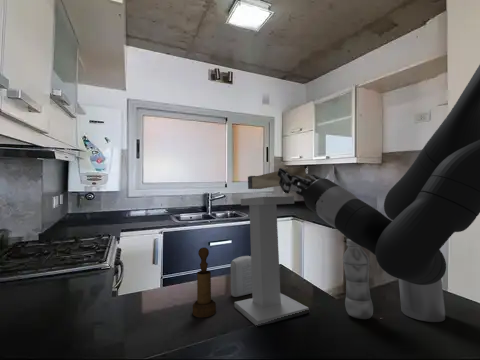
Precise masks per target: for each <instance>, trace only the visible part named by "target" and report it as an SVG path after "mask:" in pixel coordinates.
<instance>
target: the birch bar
mask: <svg viewBox="0 0 480 360" xmlns="http://www.w3.org/2000/svg"><path fill="white" fill-rule="evenodd" d="M283 169H284V168H283ZM284 170H286V171H287V172H289V173H290V174H292V175H299V176H301V177H303V178H305V179H306V177H305V176H306V173H307V172H306V168H305V167H293V166H292V167H288V168H285V169H284ZM277 174H278V170H276V171H273V172H267V173H264V174H260V175H249V176H247V189H248V190H262V189H269V188H275V187H281V186H280V184H279V181H280V177H279V176H278V175H277ZM290 181H292V178H290ZM297 181H298V180H297Z"/></svg>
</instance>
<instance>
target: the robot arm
mask: <svg viewBox="0 0 480 360" xmlns="http://www.w3.org/2000/svg"><path fill="white" fill-rule="evenodd" d="M277 171H278V174H277V175H278V176H279V177H280V181H279V184H280V186H279V187H280V188H281V190H282V192H283V193H285V194H290V192H295V193H296V194H297V195H299V196H301V197H302V198H303V201H304V203H305V205H306V208H308V209H309V210H310V211H312V212H313V213H314V214H315V215H317V216H318V217H319V218H320V219H322V220H323V221H324V222H325V223H327V224H328V225H329V226H331V227H333V228H335V230H337V231H338V232H339V233H341V234H343V236H345V237H346V239H347V238H349V239H350V240H351V241H353V242H354V243H356V244H358V245H360V246H362V247H361V248H364V249H366V250H368V251H369V252H370V253H372V254H373V255H374V256H375V259H376V262H377V264H378V265H379V267H380V268H381V269H382V270H383V271H384V273H385V272H386V274H388V275H390V276H391V277H393V278H395V279H398V286H399V298H400V299H399V300H400V307H401V309H400V310H401V313H402V314H404V315H405V316H407V317H409V318H411V319H415V320H417V321H422V322H427V323H428V322H429V323H440V322H443V321H445V319H446V307H445V301H444V300H445V298H444V291H443V290H444V289H443V282H442V279H443V277H444V276H445V274H446V271H447V263H446V258H445V256H444V254H443V253H442V250H441V248H442V247H443V246H444V245H445V244H446V242H447V241H448V240H449V239H450V238H451V236H452V235H454V233H460V232H464V231H465V230H467V229H468V228H469V227H470V226H471V225H472V224H473V223H474V222H475V220H476V219H477V217H478V216H479V215H480V64H479V65H478V67H477V68H476V70H475V71H474V73H473V75H472V76H471V78H470V79H469V81H468V83H467V84H466V86H465V88H464V90H463V91H462V93H461V94H460V96H459V98H458V99H457V101H456V102H455V104H454V105H453V107H452V108H451V110H450V112H449V113H448V115H447V116H446V117H445V119H444V120H443V121H442V122H441V124H440V125H439V127H437V129H436V130H435V132H434V133H433V134H432V135H431V137H430V138H429V140H428V141H427V142H426V143H425V145H424V147H423V148H422V149H421V150H420V152H419V154H418V156H417V157H416V158H415V159H414V161H413V163H412V164H411V166H410V167H409V168H408V169H407V171H406V172H405V173H404V175H403V176H402V177H401V178H400V179H399V180H398V181H397V182H396V183H395V184H394V185H393V186H392V187H391V188H390V189H389V190H388V192H387V194H386V196H385V199H384V203H383V210H384V213H385V215H386V216H385V215H384V214H382V212H380V211H379V210H378V209H376V208H375V207H373V206H371V205H370V204H368V203H367V202H365V201H363V200H361V199H360V198H358V197H357V196H356V195H355V194H353V193H352V192H350V191H349V190H347V189H345V188H343V187H342V186H340V185H339V184H337V183H335V182H334V181H332V180H330V179H328V178H323V177H320V176H317V175H315V174H309V173H307V172H306V176H305V177H306V179H305V178H303V177H301V176H299V175H292V174H290V173H289V172H287V171H286V170H284V168H282V167H279V168H278V170H277ZM290 178H292V181H290ZM297 180H298V181H297Z"/></svg>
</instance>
